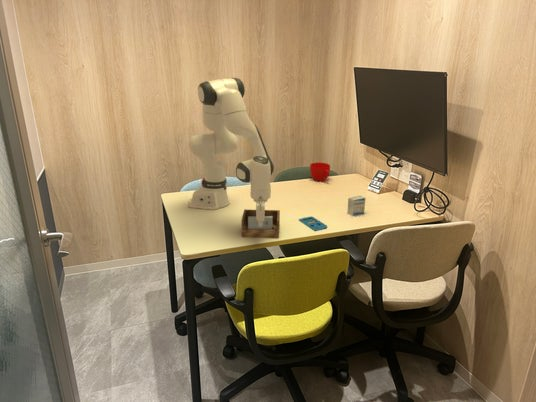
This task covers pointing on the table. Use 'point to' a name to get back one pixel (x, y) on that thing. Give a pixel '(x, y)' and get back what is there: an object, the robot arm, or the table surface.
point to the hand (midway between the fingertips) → (260, 221)
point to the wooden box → (258, 232)
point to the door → (265, 225)
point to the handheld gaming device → (313, 223)
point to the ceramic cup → (319, 171)
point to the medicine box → (356, 205)
